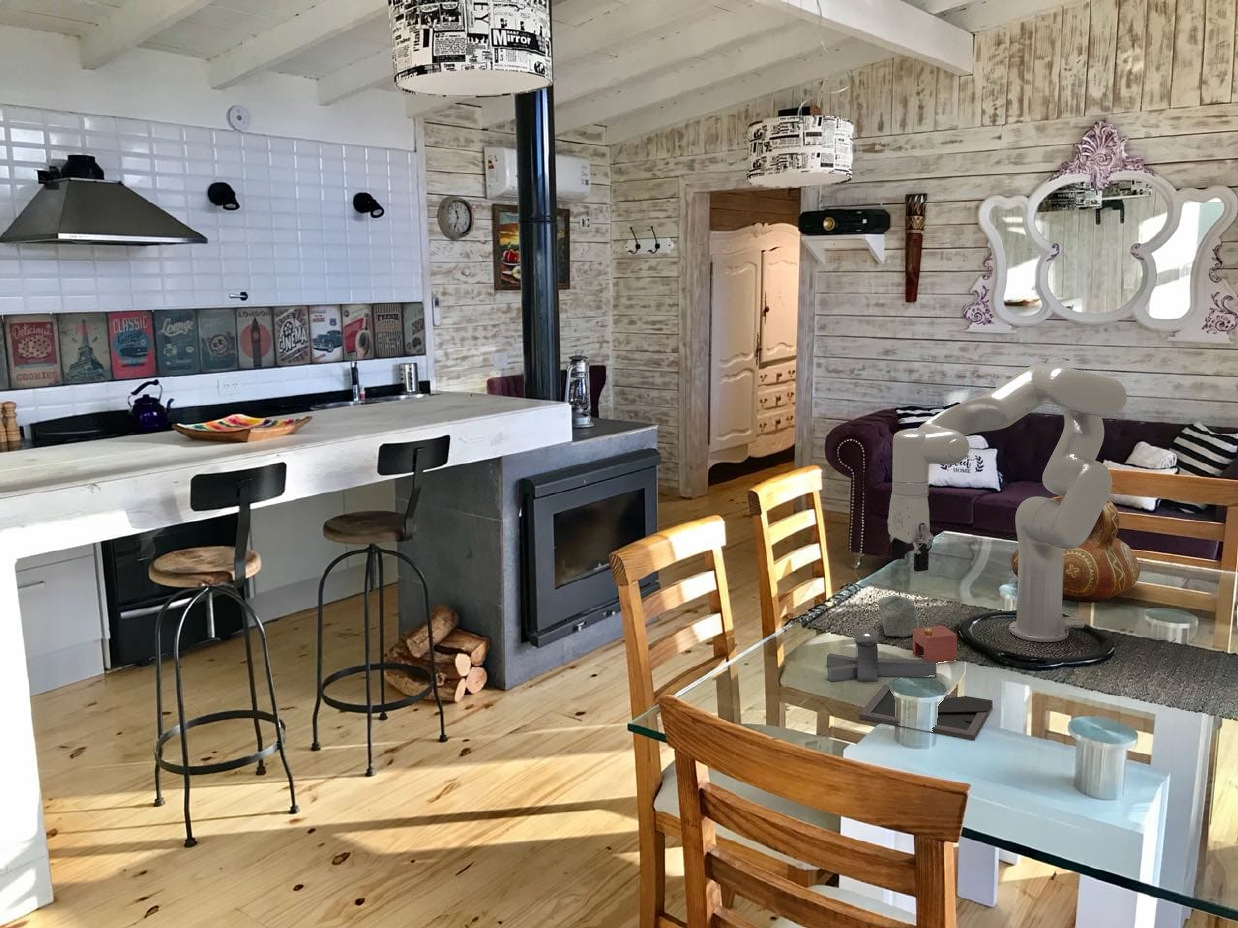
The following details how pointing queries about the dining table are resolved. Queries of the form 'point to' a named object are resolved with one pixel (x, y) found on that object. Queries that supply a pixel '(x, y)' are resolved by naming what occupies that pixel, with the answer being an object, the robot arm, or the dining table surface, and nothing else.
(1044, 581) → the robot arm
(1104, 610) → the dining table surface
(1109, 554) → the jug
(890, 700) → the picture frame
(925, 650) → the block
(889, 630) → the decorative stone
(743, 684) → the dining table surface
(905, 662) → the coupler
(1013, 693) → the dining table surface
